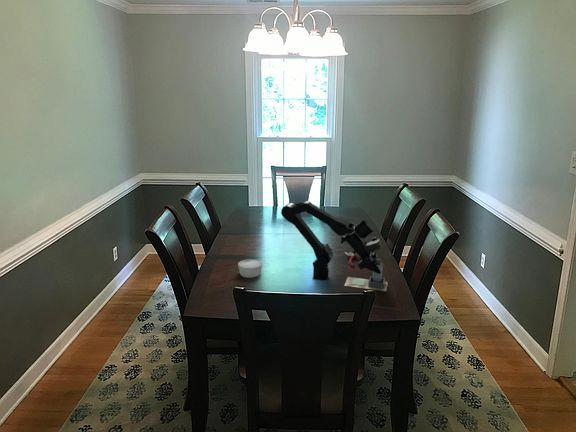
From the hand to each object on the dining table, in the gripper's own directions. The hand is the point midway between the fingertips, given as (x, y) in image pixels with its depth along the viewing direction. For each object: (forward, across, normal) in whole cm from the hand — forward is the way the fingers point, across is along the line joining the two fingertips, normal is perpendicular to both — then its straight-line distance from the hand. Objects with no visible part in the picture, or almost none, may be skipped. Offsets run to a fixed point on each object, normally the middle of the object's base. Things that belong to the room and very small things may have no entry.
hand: (380, 271), depth 200 cm
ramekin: (-36, -7, +47) cm, 60 cm away
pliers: (-5, +27, +16) cm, 32 cm away
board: (+1, 0, +9) cm, 9 cm away
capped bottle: (+4, 0, +6) cm, 7 cm away
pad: (-2, 0, +11) cm, 12 cm away
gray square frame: (+4, 0, +6) cm, 7 cm away
